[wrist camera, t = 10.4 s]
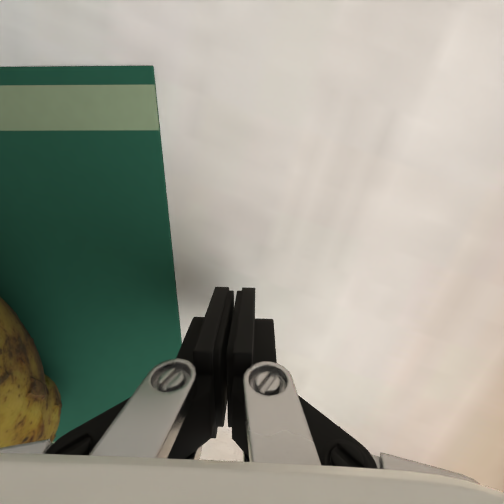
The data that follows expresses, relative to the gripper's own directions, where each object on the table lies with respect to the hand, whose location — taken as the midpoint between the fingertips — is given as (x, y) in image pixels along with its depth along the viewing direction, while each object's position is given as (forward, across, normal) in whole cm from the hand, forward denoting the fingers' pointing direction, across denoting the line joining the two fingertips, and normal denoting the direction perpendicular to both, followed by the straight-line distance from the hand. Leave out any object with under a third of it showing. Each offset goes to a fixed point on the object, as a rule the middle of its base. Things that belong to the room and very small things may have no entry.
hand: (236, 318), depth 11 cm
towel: (+2, +11, +2) cm, 11 cm away
